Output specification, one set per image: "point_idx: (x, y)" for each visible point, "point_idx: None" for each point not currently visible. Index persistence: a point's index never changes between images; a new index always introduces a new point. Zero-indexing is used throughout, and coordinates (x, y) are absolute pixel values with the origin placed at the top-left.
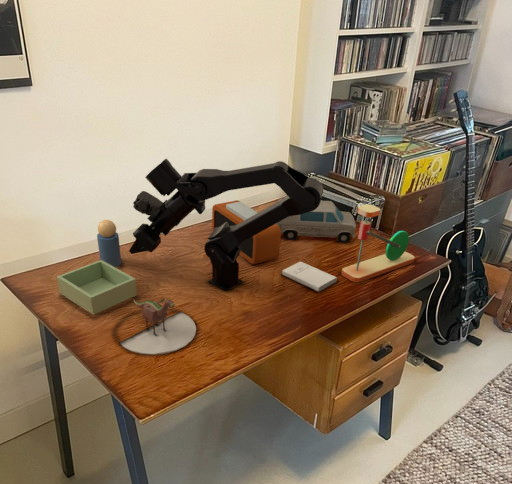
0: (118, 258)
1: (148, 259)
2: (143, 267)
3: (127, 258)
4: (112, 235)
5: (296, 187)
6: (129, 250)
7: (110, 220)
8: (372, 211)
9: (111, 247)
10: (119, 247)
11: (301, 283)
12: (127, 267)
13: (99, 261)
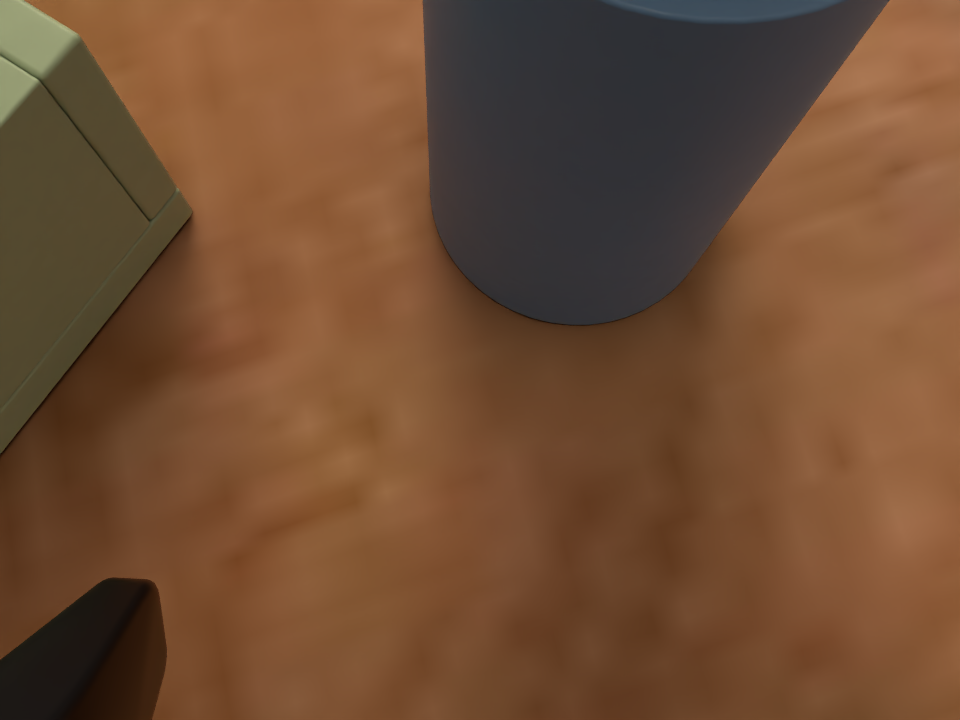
0: (549, 258)
1: (948, 649)
2: (667, 657)
3: (863, 324)
4: None
5: None
6: (78, 604)
7: None
8: None
9: (462, 56)
10: (675, 189)
11: None
12: (598, 415)
13: (2, 29)
